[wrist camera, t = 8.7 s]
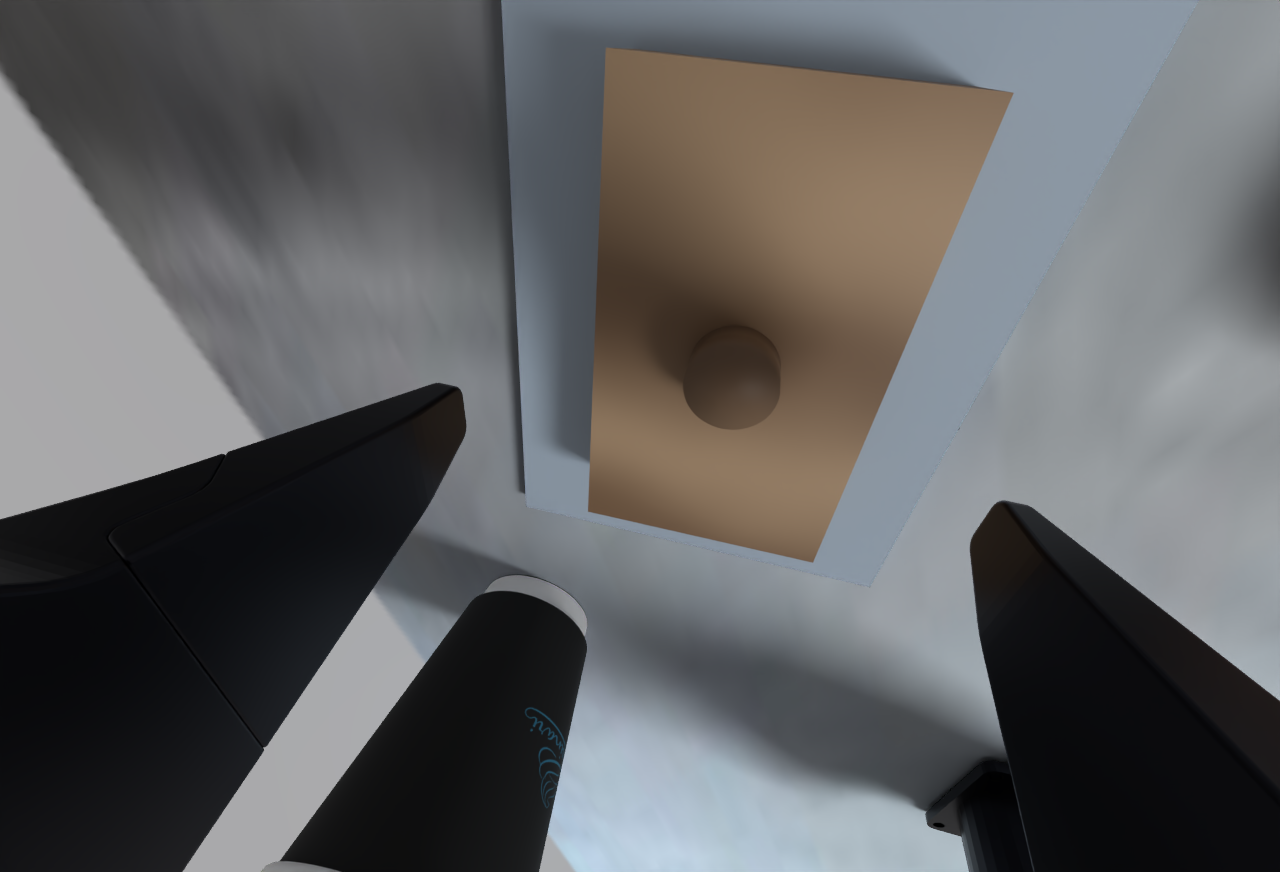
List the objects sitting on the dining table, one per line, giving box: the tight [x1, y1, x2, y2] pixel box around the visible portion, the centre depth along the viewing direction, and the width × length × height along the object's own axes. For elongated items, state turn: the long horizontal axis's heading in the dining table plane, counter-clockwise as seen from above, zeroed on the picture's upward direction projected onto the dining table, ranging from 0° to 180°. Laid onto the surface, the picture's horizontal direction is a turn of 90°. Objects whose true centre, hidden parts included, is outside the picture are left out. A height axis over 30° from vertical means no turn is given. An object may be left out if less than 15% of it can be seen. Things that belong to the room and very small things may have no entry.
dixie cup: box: [261, 575, 587, 872], centre depth 19 cm, size 8×8×11 cm
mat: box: [501, 0, 1199, 587], centre depth 14 cm, size 16×12×1 cm
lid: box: [588, 48, 1014, 563], centre depth 12 cm, size 11×6×3 cm, turn 175°
